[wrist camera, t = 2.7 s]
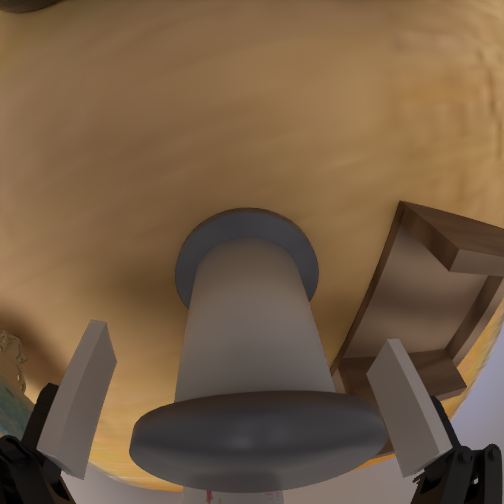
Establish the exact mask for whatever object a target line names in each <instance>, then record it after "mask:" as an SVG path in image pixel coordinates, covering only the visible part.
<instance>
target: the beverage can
mask: <svg viewBox="0 0 504 504" xmlns="http://www.w3.org/2000/svg"><path fill="white" fill-rule="evenodd" d="M183 504H284V502H283V492H282V491H273V492H262V493H226V492H215V491H207V490H200V489H195V488H190V487H186V486H183Z"/></svg>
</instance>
